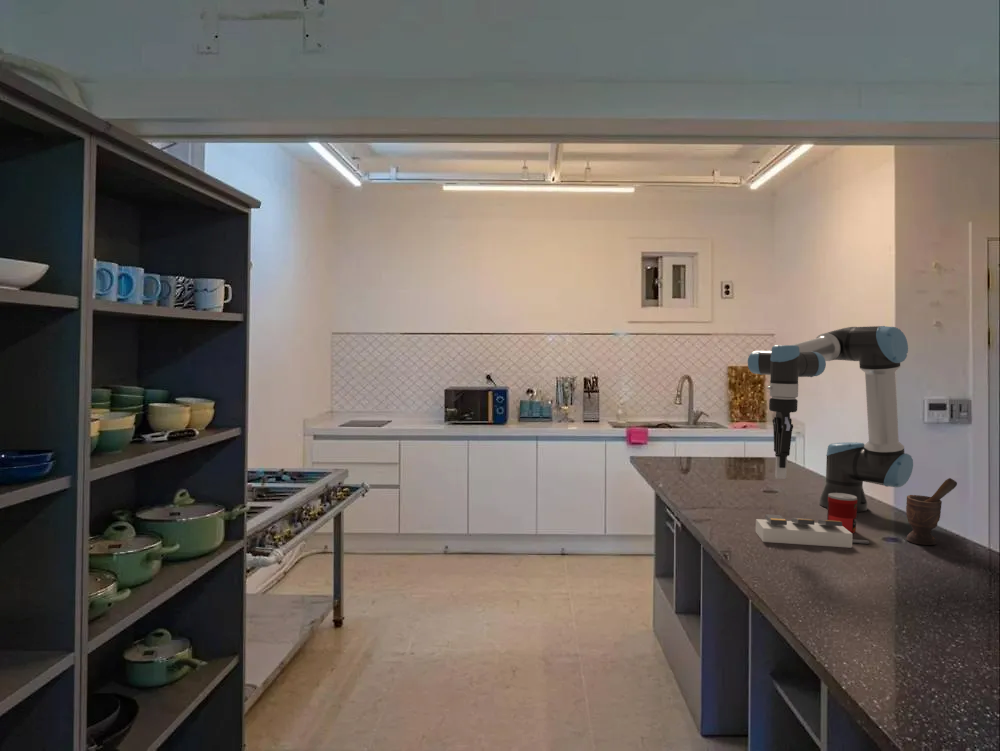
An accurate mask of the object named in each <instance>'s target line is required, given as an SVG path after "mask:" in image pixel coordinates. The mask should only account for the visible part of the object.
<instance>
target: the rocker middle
mask: <svg viewBox="0 0 1000 751" xmlns="http://www.w3.org/2000/svg"><path fill="white" fill-rule="evenodd" d="M790 521H791V522H794V523H797V524H810V525H814V523H815V520H814V519H810V518H802V517H801V518H800V517H791V519H790Z"/></svg>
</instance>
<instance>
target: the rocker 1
mask: <svg viewBox="0 0 1000 751" xmlns="http://www.w3.org/2000/svg"><path fill="white" fill-rule="evenodd" d="M764 515H765V517H764V520H767V521H768V522H769V523H770V524H778V525H787V521H788V520H787V519H785V518H784V516H782V515H781V514H768V513H767V514H766V513H765V514H764Z"/></svg>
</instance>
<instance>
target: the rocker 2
mask: <svg viewBox="0 0 1000 751" xmlns="http://www.w3.org/2000/svg"><path fill="white" fill-rule="evenodd" d="M817 523H818V524H822V525H830V526H842V522H841V521H834V520H827V519H818V520H817Z"/></svg>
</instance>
